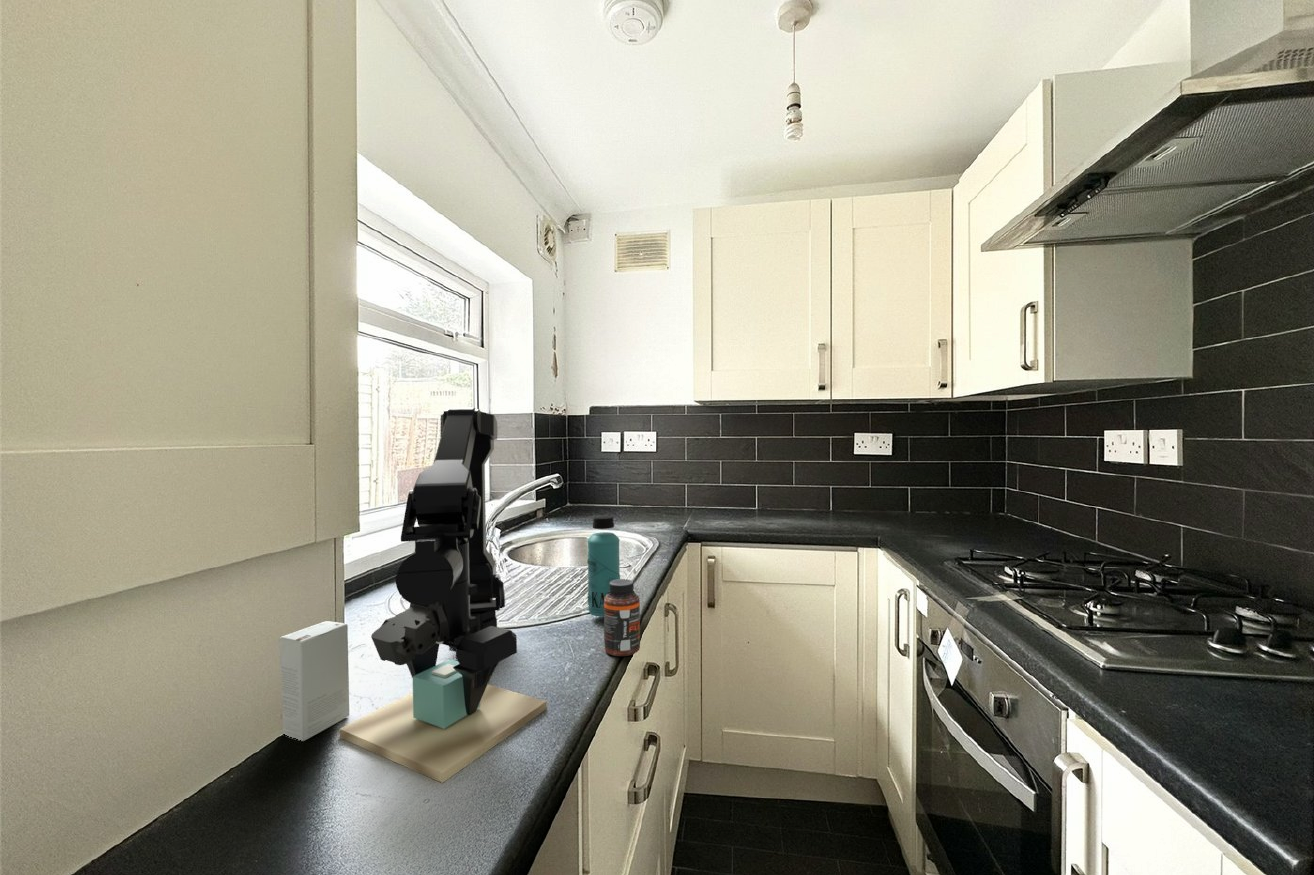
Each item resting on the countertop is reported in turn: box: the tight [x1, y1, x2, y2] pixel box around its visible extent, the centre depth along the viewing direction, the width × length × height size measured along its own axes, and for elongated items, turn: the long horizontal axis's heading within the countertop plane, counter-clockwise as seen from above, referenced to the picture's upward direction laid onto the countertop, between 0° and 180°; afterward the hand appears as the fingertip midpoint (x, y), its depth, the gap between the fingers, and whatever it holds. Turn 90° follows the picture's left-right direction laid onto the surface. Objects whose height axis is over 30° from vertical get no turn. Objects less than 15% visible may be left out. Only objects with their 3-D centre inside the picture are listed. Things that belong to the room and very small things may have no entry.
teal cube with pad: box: [412, 658, 481, 728], centre depth 64 cm, size 6×6×5 cm
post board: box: [339, 683, 547, 784], centre depth 64 cm, size 18×16×4 cm
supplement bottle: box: [603, 578, 641, 657], centre depth 84 cm, size 6×6×11 cm
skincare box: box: [278, 620, 350, 742], centre depth 63 cm, size 6×4×12 cm
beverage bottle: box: [586, 515, 621, 618], centre depth 99 cm, size 6×7×20 cm
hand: (447, 705), depth 64 cm, fingers open, 8 cm apart
